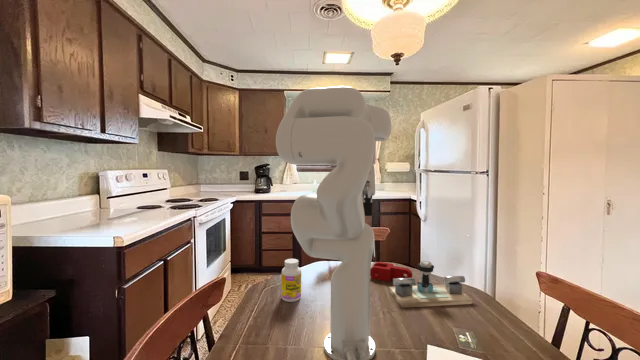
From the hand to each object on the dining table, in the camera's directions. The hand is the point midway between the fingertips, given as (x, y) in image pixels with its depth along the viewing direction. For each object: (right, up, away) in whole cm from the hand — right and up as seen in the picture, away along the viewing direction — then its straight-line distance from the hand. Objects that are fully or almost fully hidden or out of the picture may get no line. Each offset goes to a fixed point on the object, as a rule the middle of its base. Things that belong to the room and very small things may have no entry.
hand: (362, 212), depth 91 cm
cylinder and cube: (+24, -28, +6) cm, 37 cm away
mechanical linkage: (+15, -29, +22) cm, 40 cm away
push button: (+23, -28, +7) cm, 37 cm away
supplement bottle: (-23, -30, +5) cm, 38 cm away
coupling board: (+24, -30, +6) cm, 38 cm away
